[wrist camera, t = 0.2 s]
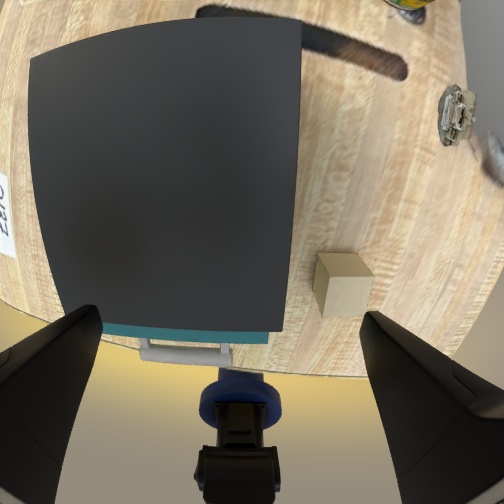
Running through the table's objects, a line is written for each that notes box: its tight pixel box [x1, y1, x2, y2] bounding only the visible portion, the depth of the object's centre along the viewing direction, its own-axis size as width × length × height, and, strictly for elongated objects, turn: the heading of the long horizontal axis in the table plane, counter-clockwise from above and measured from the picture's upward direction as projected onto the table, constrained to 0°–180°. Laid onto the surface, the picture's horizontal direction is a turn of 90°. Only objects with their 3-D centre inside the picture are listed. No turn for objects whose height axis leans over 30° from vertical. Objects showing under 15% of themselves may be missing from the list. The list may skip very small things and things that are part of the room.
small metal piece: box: [438, 84, 477, 146], centre depth 17 cm, size 6×2×3 cm, turn 166°
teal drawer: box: [102, 323, 269, 367], centre depth 18 cm, size 18×11×8 cm, turn 178°
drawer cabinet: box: [28, 17, 302, 332], centre depth 16 cm, size 15×13×10 cm
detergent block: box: [312, 253, 375, 317], centre depth 22 cm, size 4×4×4 cm
